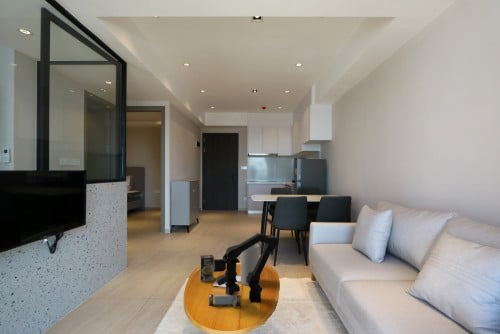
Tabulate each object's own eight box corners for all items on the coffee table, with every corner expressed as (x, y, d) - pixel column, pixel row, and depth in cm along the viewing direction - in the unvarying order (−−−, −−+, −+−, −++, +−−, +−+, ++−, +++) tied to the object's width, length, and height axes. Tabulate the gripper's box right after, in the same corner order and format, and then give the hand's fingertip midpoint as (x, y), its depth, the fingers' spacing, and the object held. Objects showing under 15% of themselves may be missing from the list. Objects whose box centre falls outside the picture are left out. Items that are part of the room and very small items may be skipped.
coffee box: (200, 282, 187) (200, 258, 187) (199, 278, 193) (199, 255, 193) (213, 280, 190) (214, 257, 190) (212, 277, 196) (212, 254, 196)
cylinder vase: (259, 279, 193) (259, 243, 193) (258, 286, 181) (258, 248, 181) (241, 278, 194) (242, 242, 195) (239, 285, 182) (239, 247, 182)
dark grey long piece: (208, 307, 154) (208, 297, 154) (209, 303, 157) (209, 294, 157) (240, 307, 153) (240, 297, 154) (240, 304, 157) (240, 294, 157)
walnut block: (233, 291, 174) (233, 284, 174) (232, 294, 170) (233, 287, 170) (226, 291, 174) (226, 283, 174) (225, 294, 170) (225, 286, 170)
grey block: (214, 304, 156) (214, 295, 156) (214, 302, 157) (214, 294, 157) (235, 304, 156) (235, 295, 156) (235, 302, 157) (236, 294, 157)
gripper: (214, 265, 165) (214, 291, 166) (220, 278, 147) (219, 307, 148) (233, 264, 168) (232, 289, 169) (240, 276, 150) (239, 304, 151)
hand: (230, 297), depth 159 cm, fingers closed
